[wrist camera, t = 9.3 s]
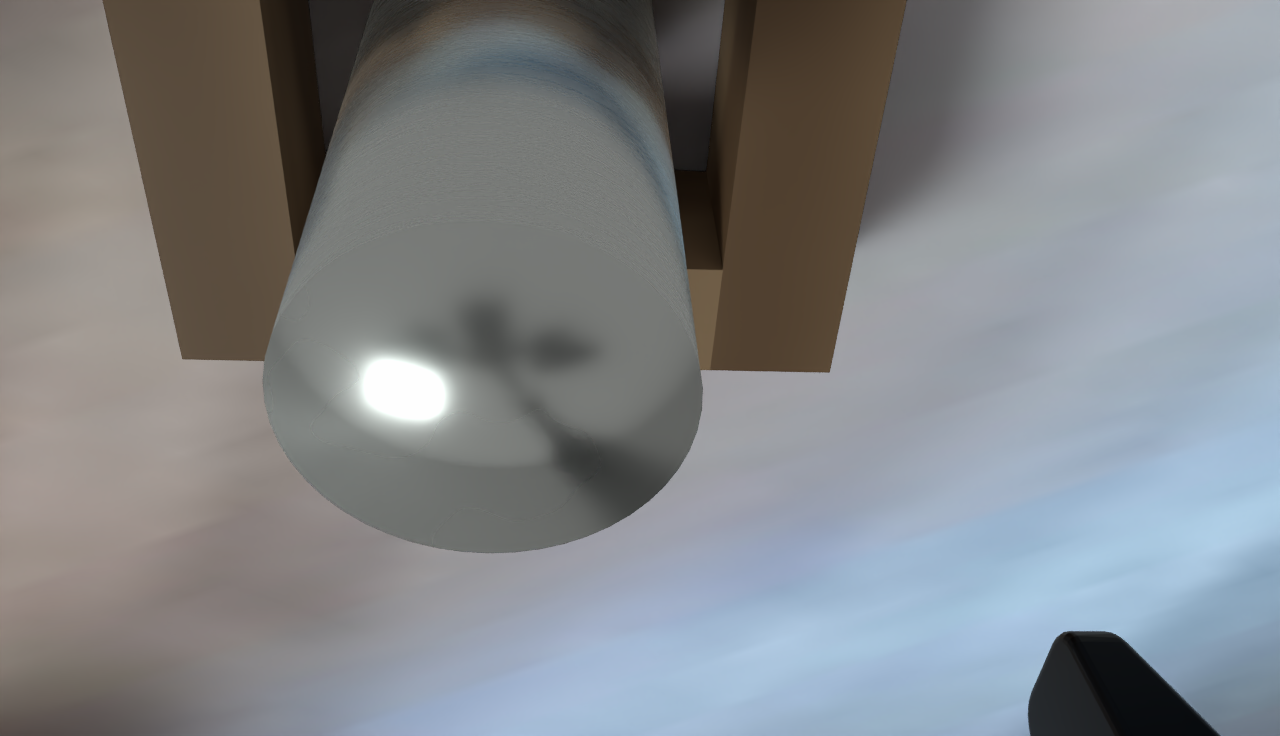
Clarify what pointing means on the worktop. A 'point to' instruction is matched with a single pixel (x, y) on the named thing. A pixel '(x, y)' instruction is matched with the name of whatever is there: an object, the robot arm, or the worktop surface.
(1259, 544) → the worktop surface
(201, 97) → the brown wooden square frame
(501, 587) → the worktop surface
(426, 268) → the grey cylinder
